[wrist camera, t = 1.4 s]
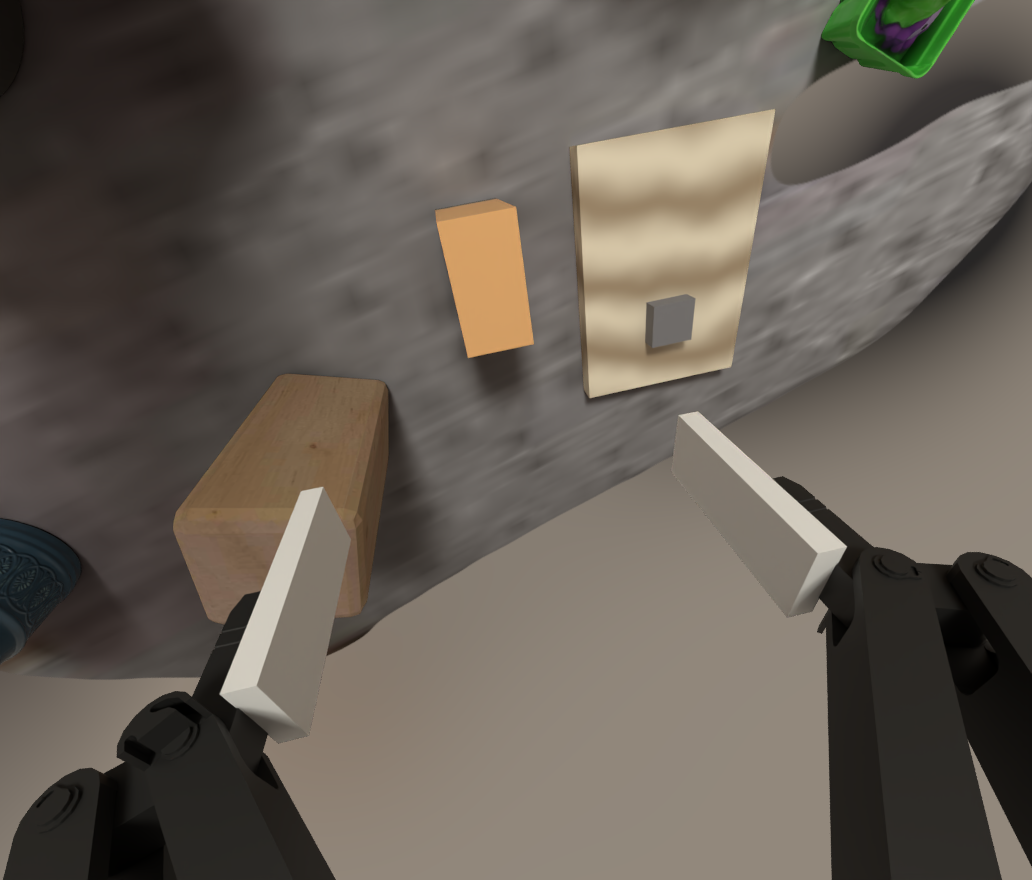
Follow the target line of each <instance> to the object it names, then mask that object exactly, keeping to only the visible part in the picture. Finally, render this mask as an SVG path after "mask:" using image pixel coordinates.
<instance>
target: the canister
mask: <svg viewBox="0 0 1032 880" xmlns="http://www.w3.org/2000/svg"><path fill="white" fill-rule="evenodd" d="M80 575H81V564H80V561H79V559H78V557H77V556H76V554H75V553H74V552H73V551H72V550H71V549H70V548H69V547H68V546H67V545H66V544H65V543H63V542H62V541H60V540H59V539H57V538H56V537H54V536H52V535H50V534H48V533H46V532H44V531H42V530H40V529H37V528H35V527H32V526H29V525H26V524H23V523H19V522H15V521H11V520H6V519H0V664H1V663H2V662H4V661H6V660H8V659H10V658H12V657H14V656H15V655H17V654H18V653H19V652H20V651H21V650H22V649H23V647H24V646H25V644H26V641H27V639H28V638H29V637H30V636H31V635H32V634H33V633H34V631H35V630H36V629H37V628H38V627H39V626H40V624H41V623H42V622H43V621H44V620H45V619H46V617H47V616H48V615H49V614H50V613H51V612H52V611H53V609H54V608H55V607H56V606H57V605H58V604H59V603H61V602H62V601H63V600H64V599H65V598H66V597H67V596H68V594H69V593H70V592H71V591H72V590H73V589H74V587H75V585H76V582H77V580H78V579H79V577H80Z"/></svg>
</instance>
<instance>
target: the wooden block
mask: <svg viewBox="0 0 1032 880" xmlns="http://www.w3.org/2000/svg"><path fill="white" fill-rule="evenodd" d="M388 458H389V420H388V389H387V387H386V385H385V383H384V382H382V381H379V380H370V379H356V378H342V377H328V376H314V375H300V374H284V375H280V376H278V377H277V378H276V379H275V381H274V382H273V383H272V385H271V386H270V387H269V389H268V390H267V391H266V393H265V394H264V395H263V397H262V398H261V399H260V401H259V402H258V403H257V405H256V406H255V407H254V409H253V410H252V411H251V413H250V414H249V415H248V417H247V418H246V419H245V421H244V422H243V423H242V425H241V426H240V427H239V429H238V430H237V431H236V433H235V434H234V435H233V437H232V438H231V439H230V441H229V442H228V443H227V445H226V446H225V447H224V449H223V450H222V451H221V453H220V454H219V455H218V457H217V458H216V459H215V461H214V462H213V463H212V465H211V466H210V467H209V469H208V470H207V471H206V473H205V474H204V475H203V477H202V478H201V479H200V481H199V482H198V483H197V485H196V486H195V487H194V489H193V490H192V491H191V493H190V494H189V495H188V497H187V498H186V499H185V501H184V502H183V503H182V505H181V506H180V507H179V509H178V510H177V511H176V514H175V518H174V524H173V531H174V534H175V536H176V539H177V541H178V544H179V546H180V549H181V551H182V554H183V556H184V559H185V561H186V564H187V566H188V569H189V571H190V574H191V576H192V579H193V581H194V584H195V586H196V589H197V591H198V594H199V596H200V599H201V601H202V604H203V606H204V609H205V611H206V614H207V616H208V619H210V620H212V621H213V622H217V623H221V624H225V623H226V620H227V618H228V616H229V614H230V612H231V611H232V609H233V608H234V607H235V606H236V605H237V603H238V602H239V601H240V600H241V599H242V597H243V596H244V595H245V594H250V593H254V592H259V591H261V590H262V587H263V585H264V582H265V580H266V577H267V575H268V572H269V570H270V567H271V565H272V562H273V560H274V557H275V555H276V552H277V550H278V547H279V545H280V542H281V540H282V537H283V535H284V532H285V530H286V527H287V525H288V522H289V520H290V517H291V515H292V512H293V510H294V507H295V505H296V502H297V500H298V497H299V495H300V493H301V491H304V490H309V489H314V488H319V487H324V489H325V491H326V493H327V495H328V497H329V498H330V500H331V502H332V504H333V506H334V508H335V510H336V512H337V514H338V516H339V518H340V519H341V521H342V523H343V525H344V527H345V529H346V531H347V533H348V535H349V537H350V539H351V542H350V547H349V551H348V556H347V561H346V565H345V570H344V575H343V579H342V584H341V589H340V594H339V598H338V603H337V608H336V612H335V617H334V618H340V617H352V616H355V615H358V614H360V613H361V611H362V609H363V607H364V605H365V604H366V602H367V598H368V591H369V585H370V578H371V571H372V565H373V558H374V551H375V545H376V538H377V531H378V525H379V518H380V512H381V505H382V498H383V492H384V485H385V478H386V472H387V465H388Z"/></svg>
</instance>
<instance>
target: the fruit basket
mask: <svg viewBox="0 0 1032 880" xmlns="http://www.w3.org/2000/svg"><path fill="white" fill-rule="evenodd" d="M974 1H975V0H841V3H840V4H839V5H838V6H837V8H836V9H835V10H834V12H833V13H832V15H831V17H830V19H829V21H828V23H827V24H826V26H825V28H824V30H823V32H822V38H823V39H824V40H826V41H832V43H833V44H834V46H835V48H837V49H838V50H840V51H841V52H843V53H844V54H845V55H847V56H848V57H850V58H852V59H857V60H858V62H859V64H860V65H861V66H863V67H869V68H875V69H881V70H886V71H892V72H899V73H900V74H901V75H903V76H907V77H911V78H920V77H922V76H923V75H925V74H926V73H927V72H928V71H929V70H930V68H931V67H932V66H933V65H934V63H935V61H936V60H937V58H938V56H939V55H940V53H941V52H942V50H943V49H944V47H945V46H946V44H947V43H948V41H949V39H950V38H951V36H952V35H953V33H954V32H955V30H956V29H957V27H958V26H959V24H960V22H961V20H962V19H963V17H964V16H965V15H966V13H967V12H968V10H969V9H970V7H971V5H972V4H973V2H974Z"/></svg>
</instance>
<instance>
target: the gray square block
mask: <svg viewBox="0 0 1032 880" xmlns="http://www.w3.org/2000/svg"><path fill="white" fill-rule="evenodd" d="M695 299H696V298H694V297H692V296H690V295H688V294H684V295H679V296H675V297H670V298H665V299H660V300H656V301H651V302H646V330H645V343H647V344H648V345H649V346H650V347H652V348H655V347H659V346H664V345H669V344H673V343H678V342H682V341H687V340H691V337H692V328H693V318H694V309H695Z"/></svg>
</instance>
